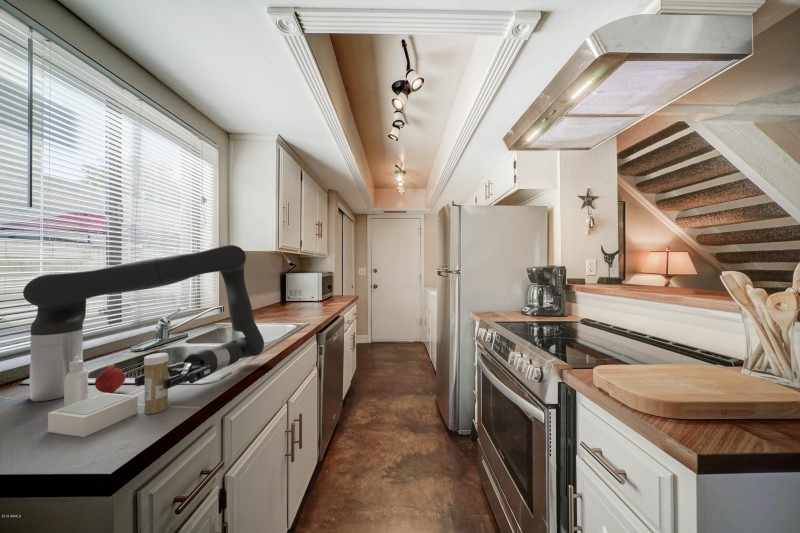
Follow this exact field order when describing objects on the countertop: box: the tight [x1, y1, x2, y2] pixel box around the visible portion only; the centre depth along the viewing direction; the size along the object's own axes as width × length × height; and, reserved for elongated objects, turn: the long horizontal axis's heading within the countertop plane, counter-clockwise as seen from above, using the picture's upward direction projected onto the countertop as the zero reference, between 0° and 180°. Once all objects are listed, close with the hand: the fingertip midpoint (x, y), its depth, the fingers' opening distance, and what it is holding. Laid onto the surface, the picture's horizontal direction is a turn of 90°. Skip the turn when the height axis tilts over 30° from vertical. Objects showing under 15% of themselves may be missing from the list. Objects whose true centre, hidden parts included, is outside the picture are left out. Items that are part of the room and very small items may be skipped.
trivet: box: [47, 392, 139, 438], centre depth 64 cm, size 10×10×4 cm
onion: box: [94, 363, 126, 394], centre depth 79 cm, size 6×6×8 cm
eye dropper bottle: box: [63, 356, 89, 407], centre depth 73 cm, size 4×6×12 cm
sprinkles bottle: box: [143, 352, 169, 415], centre depth 70 cm, size 5×5×14 cm
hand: (150, 383), depth 68 cm, fingers open, 8 cm apart
